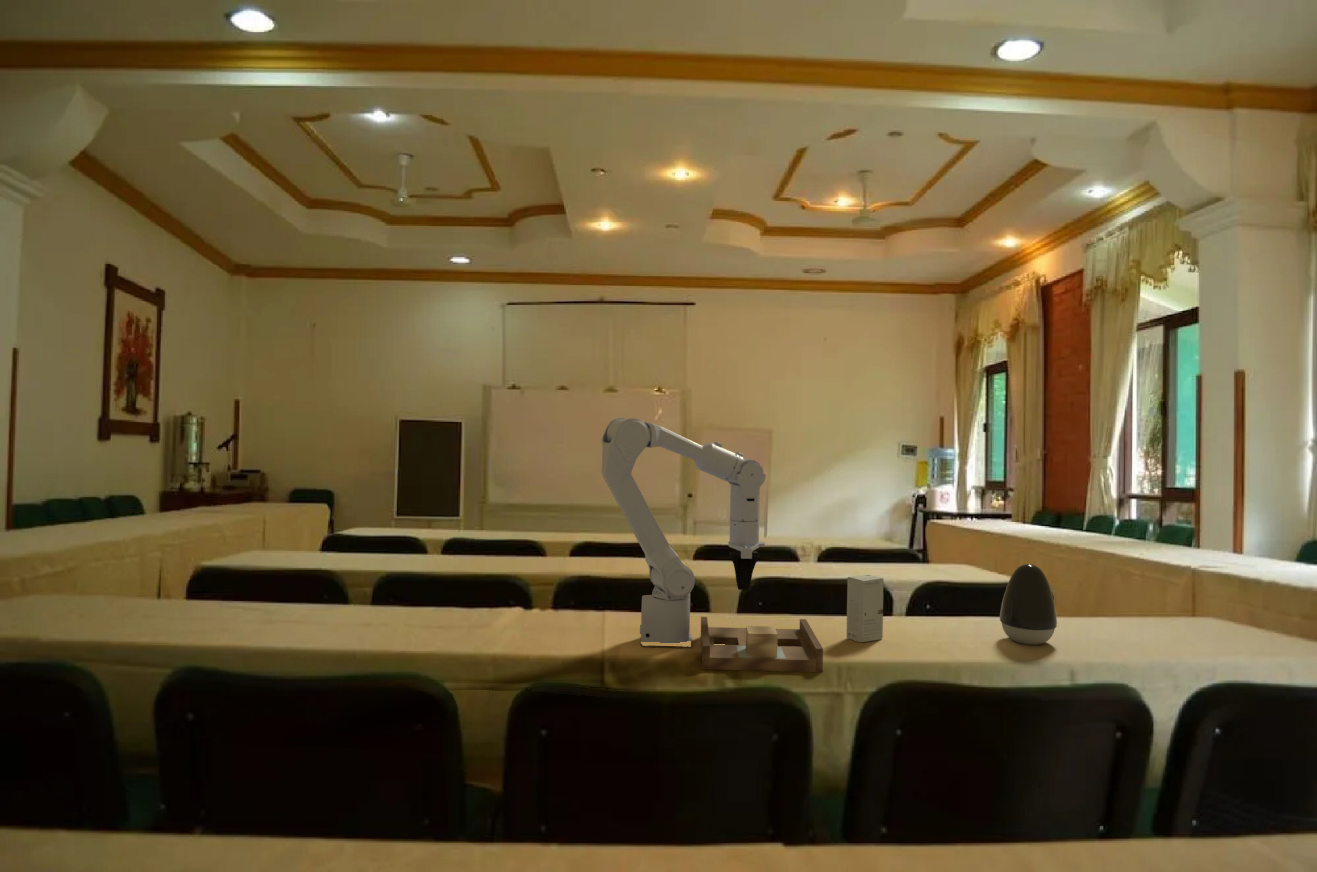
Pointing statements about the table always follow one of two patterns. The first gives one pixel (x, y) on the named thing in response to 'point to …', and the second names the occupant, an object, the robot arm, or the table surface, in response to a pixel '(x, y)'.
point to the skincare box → (865, 608)
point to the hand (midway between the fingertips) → (743, 589)
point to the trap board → (792, 655)
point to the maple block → (761, 641)
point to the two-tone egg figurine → (1028, 607)
